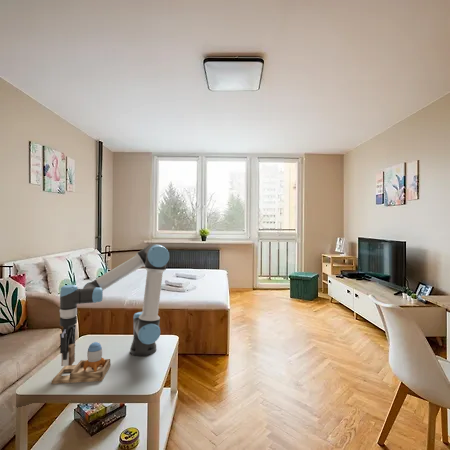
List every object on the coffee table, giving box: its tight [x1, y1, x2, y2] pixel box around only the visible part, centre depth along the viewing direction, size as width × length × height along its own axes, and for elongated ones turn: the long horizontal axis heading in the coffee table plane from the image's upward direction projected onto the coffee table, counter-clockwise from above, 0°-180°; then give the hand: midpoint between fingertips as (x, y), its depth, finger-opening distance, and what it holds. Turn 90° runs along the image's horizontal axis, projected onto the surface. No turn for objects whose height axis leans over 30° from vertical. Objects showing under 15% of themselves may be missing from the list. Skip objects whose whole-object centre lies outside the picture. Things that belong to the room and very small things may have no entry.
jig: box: [51, 358, 112, 385], centre depth 147 cm, size 23×15×4 cm, turn 97°
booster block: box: [60, 343, 76, 367], centre depth 146 cm, size 4×4×9 cm
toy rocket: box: [84, 341, 105, 372], centre depth 148 cm, size 10×11×15 cm
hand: (67, 362), depth 146 cm, fingers closed on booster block, 4 cm apart
